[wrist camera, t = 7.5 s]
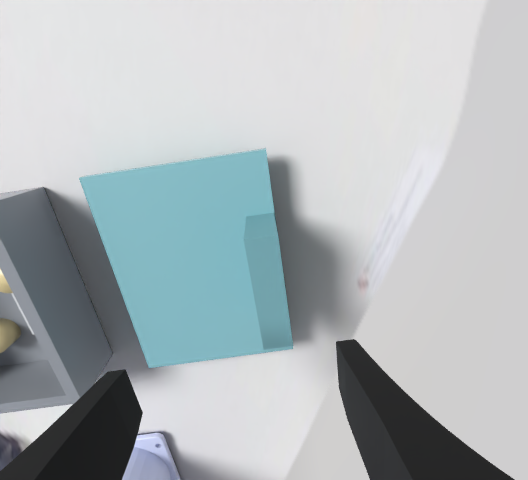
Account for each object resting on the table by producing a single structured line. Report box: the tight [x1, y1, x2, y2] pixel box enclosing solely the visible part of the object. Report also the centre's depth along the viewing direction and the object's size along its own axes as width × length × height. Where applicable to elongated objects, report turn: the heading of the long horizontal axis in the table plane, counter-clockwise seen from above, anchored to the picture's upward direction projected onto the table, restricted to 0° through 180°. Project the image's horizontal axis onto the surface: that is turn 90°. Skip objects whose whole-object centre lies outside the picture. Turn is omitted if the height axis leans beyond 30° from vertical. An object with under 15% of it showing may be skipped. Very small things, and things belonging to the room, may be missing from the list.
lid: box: [79, 148, 293, 368], centre depth 16 cm, size 13×10×5 cm
